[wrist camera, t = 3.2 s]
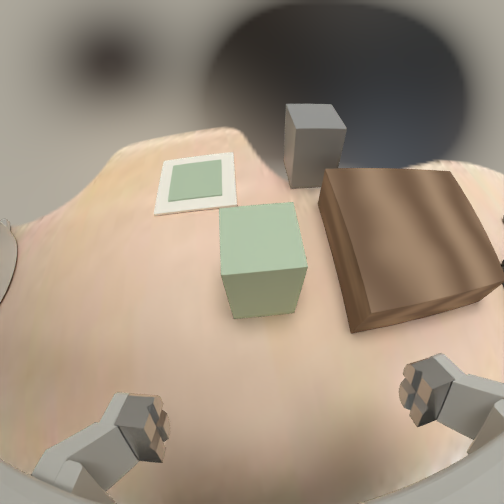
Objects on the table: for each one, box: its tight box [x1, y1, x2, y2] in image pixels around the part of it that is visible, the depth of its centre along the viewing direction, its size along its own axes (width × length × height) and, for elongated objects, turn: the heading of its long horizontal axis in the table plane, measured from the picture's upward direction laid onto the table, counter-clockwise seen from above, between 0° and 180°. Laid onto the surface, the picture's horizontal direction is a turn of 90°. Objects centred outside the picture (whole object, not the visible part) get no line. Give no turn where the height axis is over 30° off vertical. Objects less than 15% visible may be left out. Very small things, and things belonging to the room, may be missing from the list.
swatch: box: [154, 152, 237, 216], centre depth 31 cm, size 9×9×1 cm
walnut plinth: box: [318, 168, 504, 333], centre depth 23 cm, size 16×14×5 cm
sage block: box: [219, 202, 308, 319], centre depth 21 cm, size 5×5×8 cm
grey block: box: [283, 104, 347, 189], centre depth 28 cm, size 5×5×8 cm
